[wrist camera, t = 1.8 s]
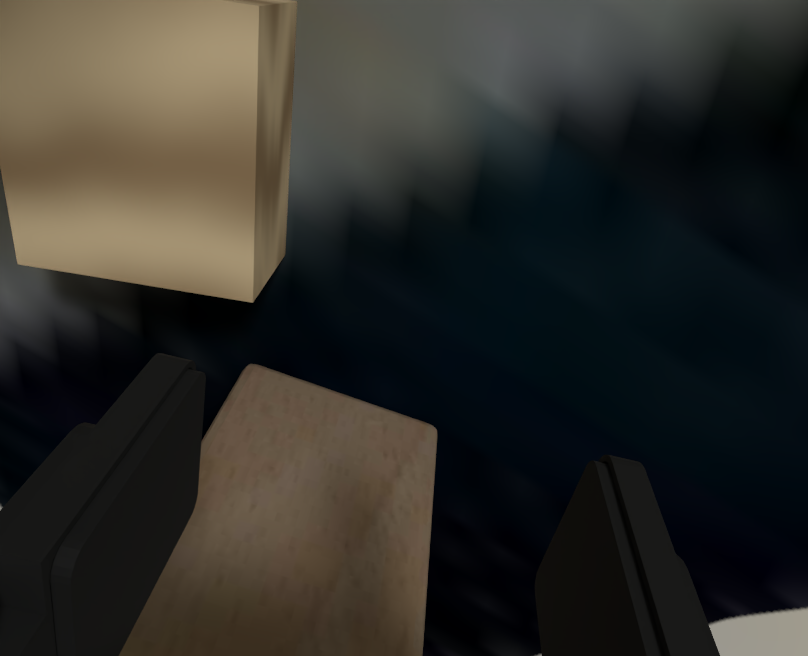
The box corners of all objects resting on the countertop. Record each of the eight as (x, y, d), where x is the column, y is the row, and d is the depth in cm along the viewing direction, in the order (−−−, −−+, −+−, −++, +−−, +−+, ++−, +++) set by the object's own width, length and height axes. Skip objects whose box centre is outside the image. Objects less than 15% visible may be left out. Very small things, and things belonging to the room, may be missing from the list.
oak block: (58, -37, 23) (-37, -41, 19) (298, 1, 23) (259, 6, 19) (87, 220, 28) (17, 264, 24) (286, 252, 28) (252, 302, 24)
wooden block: (209, 498, 35) (-46, 1004, 18) (248, 356, 31) (-48, 857, 13) (377, 552, 36) (293, 1085, 19) (441, 423, 31) (407, 976, 14)
